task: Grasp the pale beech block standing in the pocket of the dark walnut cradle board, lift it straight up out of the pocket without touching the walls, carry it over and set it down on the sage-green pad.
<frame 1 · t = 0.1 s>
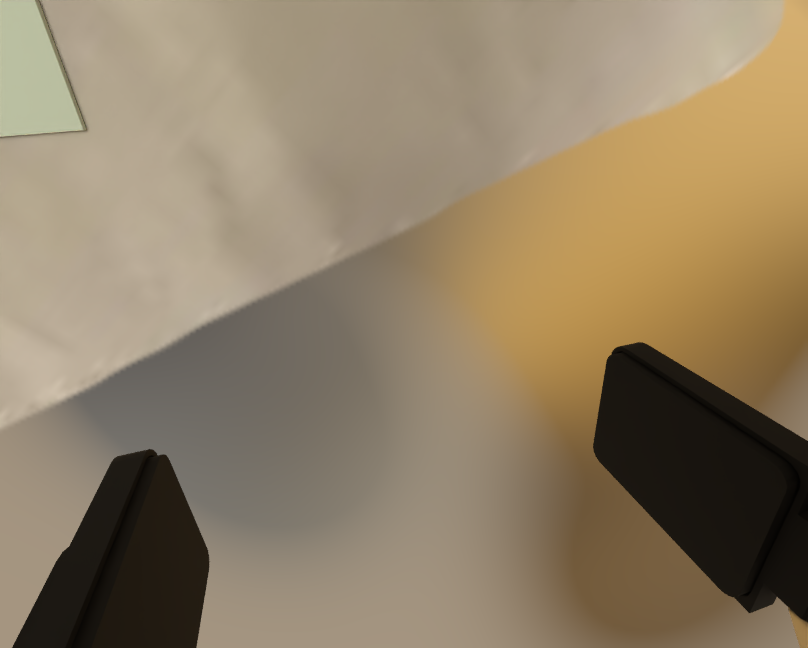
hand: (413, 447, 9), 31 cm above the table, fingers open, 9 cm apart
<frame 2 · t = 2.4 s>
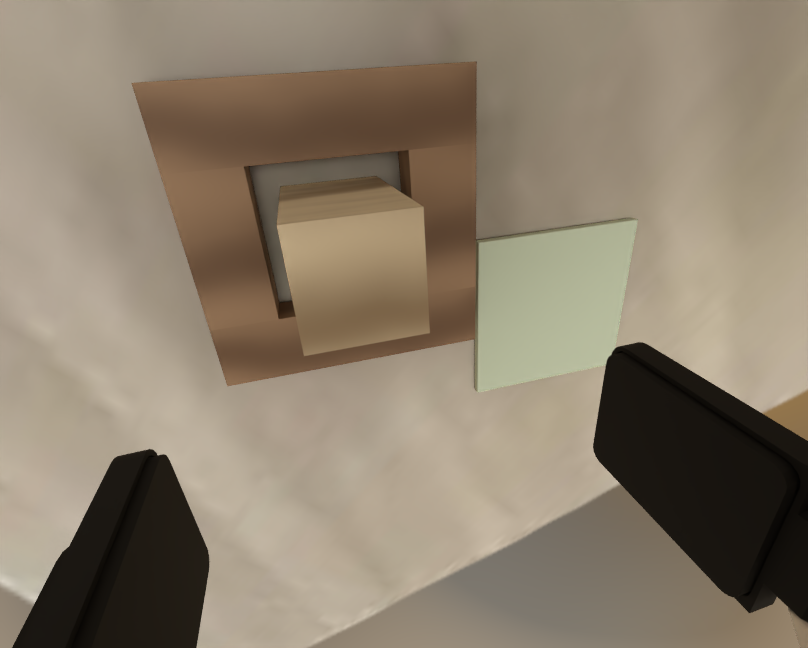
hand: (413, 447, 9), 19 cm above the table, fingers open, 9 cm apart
cradle board: (336, 228, 26), on the table
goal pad: (549, 307, 32), on the table
beech block: (346, 250, 21), in the cradle board
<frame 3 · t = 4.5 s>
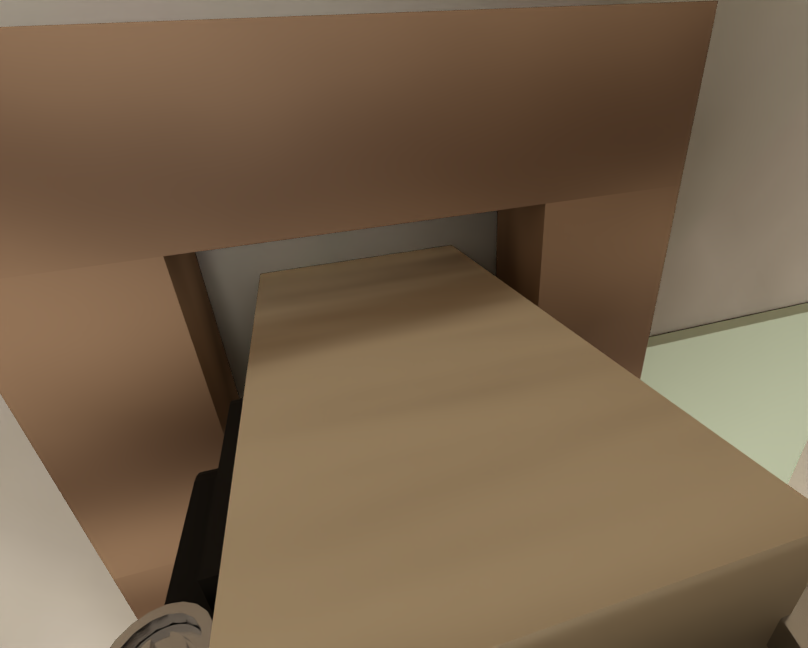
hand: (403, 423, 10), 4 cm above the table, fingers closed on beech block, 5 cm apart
cradle board: (371, 344, 13), on the table
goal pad: (705, 433, 20), on the table
beech block: (415, 451, 9), in the cradle board, touching gripper
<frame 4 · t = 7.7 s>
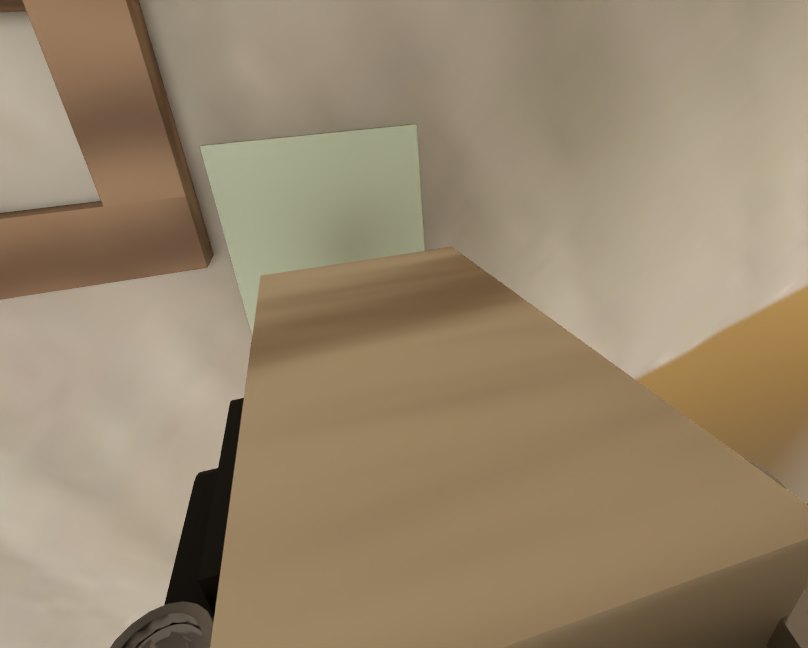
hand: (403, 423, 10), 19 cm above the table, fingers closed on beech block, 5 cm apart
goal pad: (329, 238, 27), on the table
beech block: (414, 453, 9), point 20 cm above the table, touching gripper
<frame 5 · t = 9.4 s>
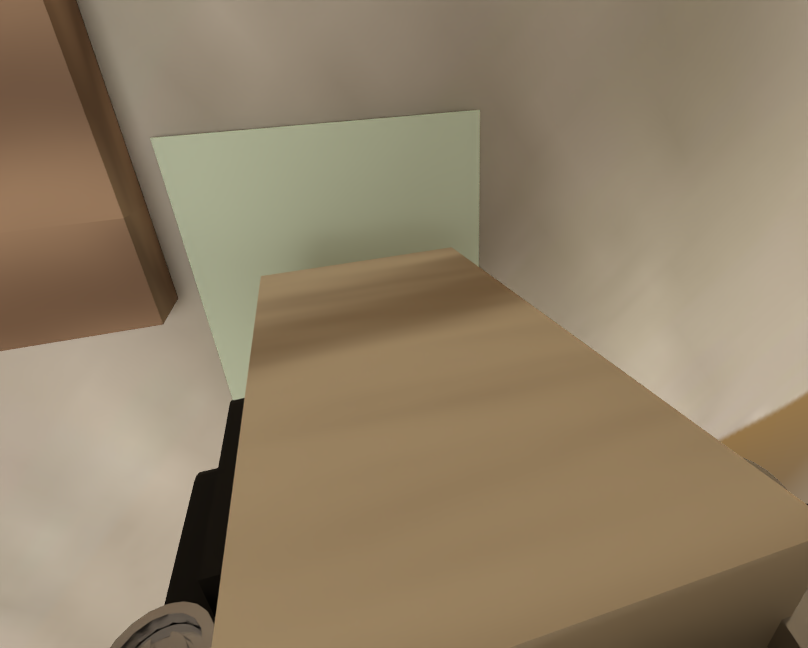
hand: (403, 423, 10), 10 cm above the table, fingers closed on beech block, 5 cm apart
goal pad: (347, 272, 19), on the table
beech block: (415, 454, 9), point 11 cm above the table, touching gripper
when the fingers open (6 cm above the table, at t = 10.8 s): beech block drops 1 cm, resting on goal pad.
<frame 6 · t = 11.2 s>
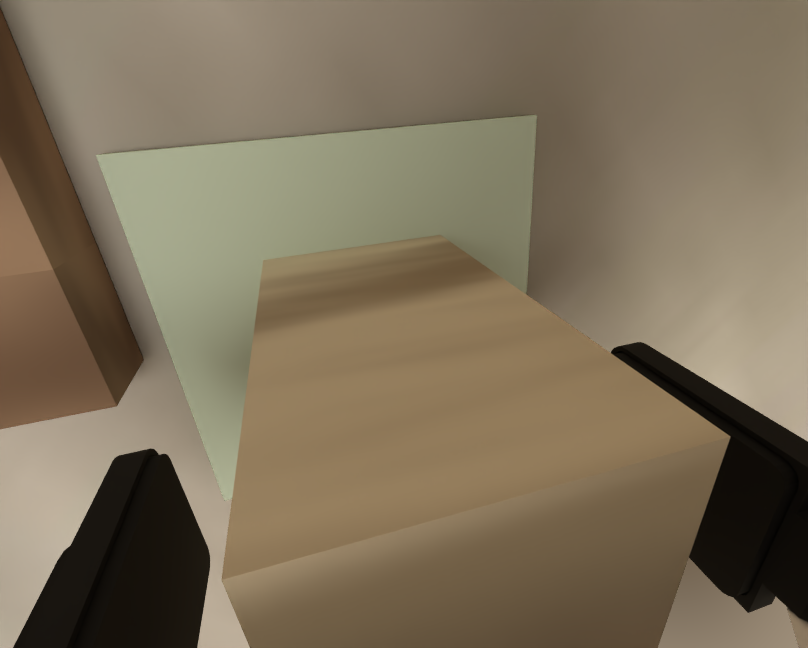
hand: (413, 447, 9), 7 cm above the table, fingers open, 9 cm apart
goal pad: (361, 320, 15), on the table
beech block: (403, 416, 10), on the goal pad, point 6 cm above the table
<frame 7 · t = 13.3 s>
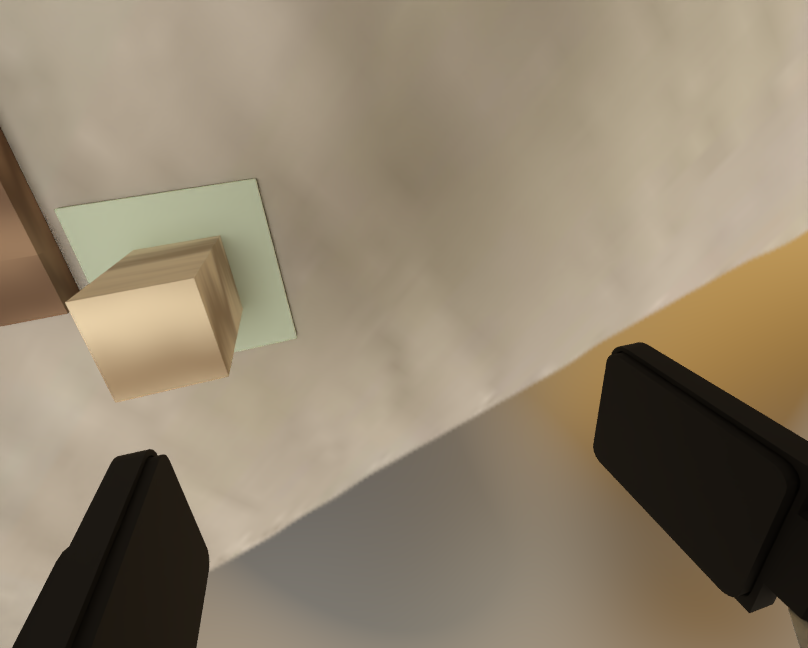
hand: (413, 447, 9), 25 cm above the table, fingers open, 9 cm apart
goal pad: (192, 279, 30), on the table
beech block: (175, 306, 25), on the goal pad, point 6 cm above the table
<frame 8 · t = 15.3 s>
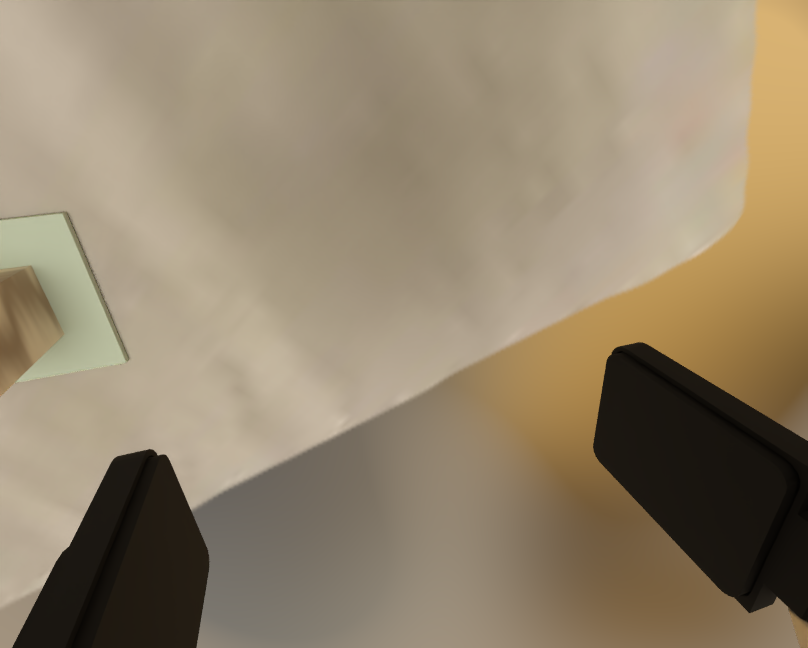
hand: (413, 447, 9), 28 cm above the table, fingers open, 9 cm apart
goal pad: (9, 305, 31), on the table
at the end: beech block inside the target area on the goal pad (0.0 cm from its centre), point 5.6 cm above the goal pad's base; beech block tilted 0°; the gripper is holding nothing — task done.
